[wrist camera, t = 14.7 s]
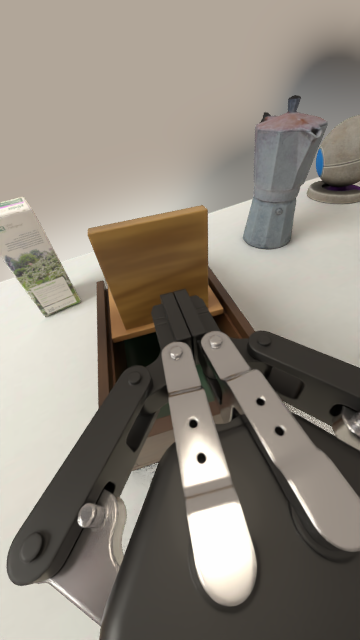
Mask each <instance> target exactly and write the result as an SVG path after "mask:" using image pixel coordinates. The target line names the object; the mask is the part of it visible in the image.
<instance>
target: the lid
mask: <svg viewBox="0 0 360 640" xmlns="http://www.w3.org/2000/svg"><path fill="white" fill-rule="evenodd" d="M88 237H89V239H90V242H91V245H92V247H93V250H94V252H95V255H96V257H97V260H98V262H99V265H100V267H101V270H102V272H103V275H104V277H105V280H106V282H107V285H108V294H109V307H110V320H111V333H112V340H113V342H114V343H116V342H120V341H124V340H127V339H131V338H135V337H138V336H142V335H146V334H149V333H153V332H156V330H155V326H154V322H153V318H152V315H151V311H152V308H153V306H155V305H159V304H161V300H160V295H161V294H165V293H169V292H172V293H173V291H177V290H181V289H186V290H187V292H188V294H189V296H194V295H197V296H198V297H200V298H201V299H203V301H204V303H205V304H206V307H207V308H208V310H209V312H210V313H211V315H212V316H216V315H220V314H223V307H222V306H221V304H220V302H219V301H218V299H217V298H216V296H215V295H214V293H213V291H212V290H211V288H210V287H209V285H208V210H207V209H206V208H205V207H204V206H203V205H201V206H196V207H191V208H186V209H181V210H177V211H172V212H167V213H163V214H157V215H153V216H147V217H142V218H137V219H132V220H128V221H123V222H118V223H113V224H108V225H103V226H98V227H93V228H89V229H88Z"/></svg>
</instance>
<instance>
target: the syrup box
mask: <svg viewBox="0 0 360 640" xmlns="http://www.w3.org/2000/svg"><path fill="white" fill-rule="evenodd" d="M0 256H1V258H2V259H3V261H4V262H5V263H6V265H7V266H8V267H9V269H10V270H11V272H12V273H13V274H14V276H15V277H16V278H17V280H18V281H19V283H20V284H21V285H22V287H23V288H24V289H25V291H26V292H27V293H28V295H29V296H30V297H31V299H32V300H33V302H34V303H35V304H36V306H37V307H38V308H39V310H40V311H41V312H42V314H43V315H44V316H45V317H47V316H49V315H51V314H54V313H56V312H58V311H60V310H63V309H65V308H67V307H70V306H72V305H74V304H76V303H79V302H80V301H81V300H80V298H79V296H78V294H77V293H76V291H75V289H74V287H73V285H72V283H71V281H70V279H69V277H68V276H67V274H66V272H65V270H64V268H63V266H62V264H61V262H60V260H59V259H58V257H57V255H56V253H55V251H54V249H53V247H52V245H51V244H50V241H49V239H48V238H47V236H46V234H45V232H44V230H43V228H42V226H41V224H40V222H39V220H38V219H37V217H36V215H35V213H34V211H33V210H32V208H31V207H30V205H29V204H28V203H27V201H26V199H25V198H24V197H20V198H17V199H13V200H9V201H5V202H1V203H0Z"/></svg>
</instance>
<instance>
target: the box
mask: <svg viewBox="0 0 360 640" xmlns="http://www.w3.org/2000/svg"><path fill="white" fill-rule="evenodd" d="M208 285H209V287H210V288H211V290H212V291H213V293H214V295H215V296H216V298H217V299H218V301H219V302H220V304H221V306H222V307H223V314H220V315H216V316H212V317H213V319H214V320H215V322H216V324H217V326H218V327H219V329H220V331H221V332H223V333H225V334H226V335H227V336H228V337H231V338H237V339H247V338H249V336H250V335H251V334H252V333H254V332H255V331H254V329H253V328H252V326H251V325H250V324H249V322H248V321H247V319H246V318H245V317H244V315H243V314H242V312H241V311H240V310H239V308H238V307H237V305H236V304H235V303H234V301H233V300H232V298H231V297H230V296H229V294H228V293H227V291H226V290H225V289H224V287H223V286H222V284H221V283H220V282H219V280H218V279H217V277H216V276H215V275H214V273H213V272H212V270H211V269H210V268H209V266H208ZM97 338H98V404H99V408H100V406H101V405H102V403H103V402H104V400H105V399H106V397H107V396H108V394H109V393H110V391H111V390H112V388H113V386H114V385H115V383H116V382H117V380H118V379H119V377H120V376H121V374H122V373H123V372H124V371H125V370H126V369H127V368H129V367H131V366H135V365H141V366H144V367H146V366H148V365H150V364H151V363H153V362H154V361H155V360H156V359H157V358H158V356H159V354H160V351H161V348H160V345H159V341H158V337H157V334H156V332H153V333H149V334H146V335H142V336H138V337H135V338H131V339H127V340H124V341H120V342H116V343H114V342H113V340H112V333H111V320H110V307H109V294H108V289H107V288H106V286H105V283H104V281H100V282H97ZM196 369H197V372H198V376H199V379H200V382H201V385H202V387H203V388H204V390H205V393H206V396H207V400H208V403H209V406H210V410H211V413H212V416H213V420H214V423H215V424H224V423H223V420H222V417H221V413H220V410H219V407H218V405H217V403H216V401H215V399H214V397H213V395H212V393H211V391H210V389H209V387H208V385H207V383H206V381H205V379H204V377H203V372H202V367H201V365H200V364H197V365H196ZM174 442H175V437H174V431H173V425H172V419H171V413H170V407H169V402H168V403H167V404H166V405H164V406H163V407H161V409H160V412H159V414H158V416H157V418H156V420H155V422H154V424H153V427H152V429H151V431H150V433H149V435H148V437H147V439H146V441H145V444H144V446H143V448H142V450H141V452H140V454H139V456H138V459H137V461H136V463H135V465H134V467H133V469H132V471H133V470H136V469H139V468H142V467H145V466H148V465H151V464H154V463H157V462H160V460H161V458H162V456H163V454H164V453H165V451H166V450H167V449H168V448H169V447H170V446H171V445H172V444H173V443H174Z"/></svg>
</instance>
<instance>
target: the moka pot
mask: <svg viewBox="0 0 360 640" xmlns="http://www.w3.org/2000/svg"><path fill="white" fill-rule="evenodd" d="M300 99H301V97H300V96H296V95H295V96H292V97H291V98H289V99H288V112H287V113H286V114H283V115H280V116H271V115H270V114H269V113H264V115H263V119H262V121H261V122H260V123H259V124H257V125H256V127H255V158H254V184H255V186H254V197H253V200H252V204H251V208H250V212H249V216H248V220H247V223H246V227H245V231H244V235H243V239H244V240H245V241H246V242H247V243H248V244H249V245H251V246H254V247H257V248H262V249H274V248H279V247H282V246H284V245H286V244H287V243H288V242H289V241H290V238H291V233H292V226H293V218H294V211H295V205H296V197H297V195H298V193H299V190H300V186H301V185H302V184H304V182H305V179H306V177H307V175H308V172H309V170H310V167H311V165H312V162H313V159H314V157H315V154H316V152H317V149H318V147H319V145H320V142H321V140H322V137H323V135H324V132H325V130H326V128H327V121H325V120H324V119H322V118H320V117H317V116H312V115H308V114H303V113H298V112H296V110H297V108H298V105H299V102H300Z"/></svg>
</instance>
